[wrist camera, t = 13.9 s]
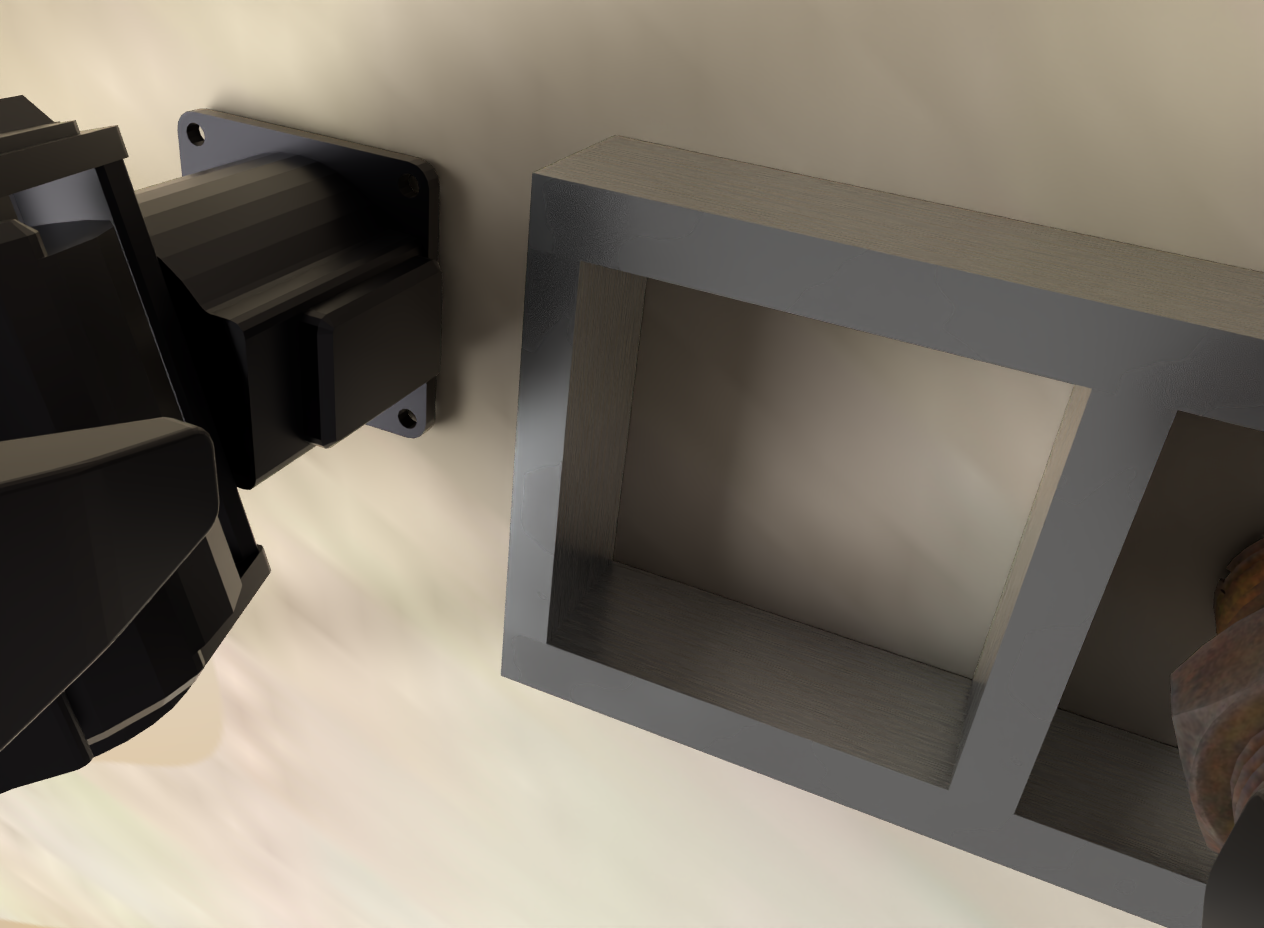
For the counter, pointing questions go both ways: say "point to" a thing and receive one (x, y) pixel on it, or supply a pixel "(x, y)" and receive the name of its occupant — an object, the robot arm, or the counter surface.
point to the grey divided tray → (818, 660)
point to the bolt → (1225, 703)
